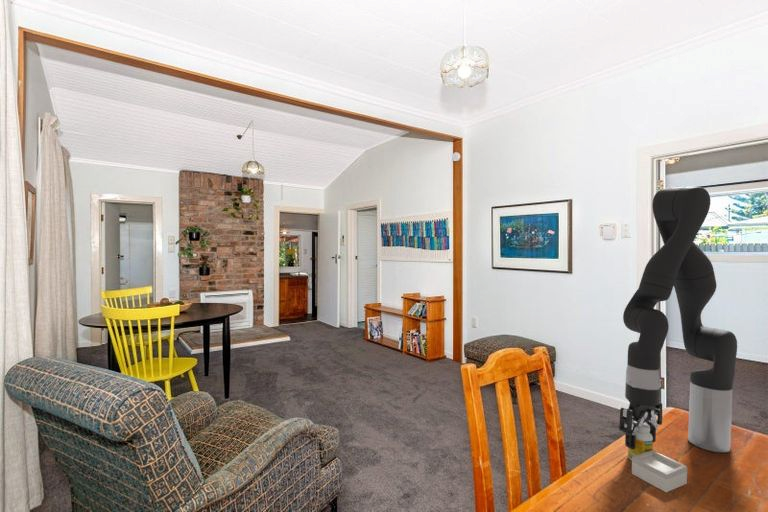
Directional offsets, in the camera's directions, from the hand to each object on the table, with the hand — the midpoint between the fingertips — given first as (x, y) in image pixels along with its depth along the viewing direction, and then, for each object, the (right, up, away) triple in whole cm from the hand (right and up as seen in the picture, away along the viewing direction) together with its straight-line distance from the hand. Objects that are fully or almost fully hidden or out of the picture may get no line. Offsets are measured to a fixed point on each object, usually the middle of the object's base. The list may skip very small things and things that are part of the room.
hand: (640, 444), depth 102 cm
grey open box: (-1, -5, -8) cm, 9 cm away
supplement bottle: (0, -5, 0) cm, 5 cm away
